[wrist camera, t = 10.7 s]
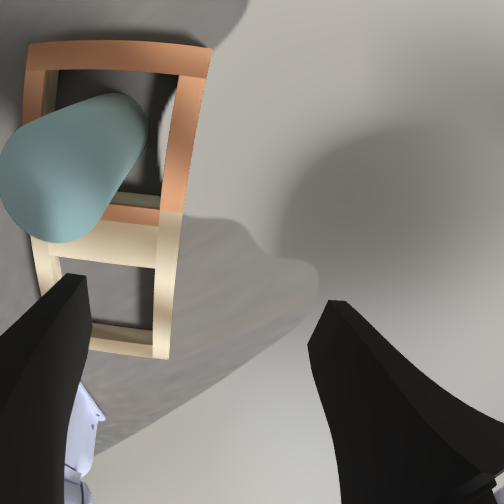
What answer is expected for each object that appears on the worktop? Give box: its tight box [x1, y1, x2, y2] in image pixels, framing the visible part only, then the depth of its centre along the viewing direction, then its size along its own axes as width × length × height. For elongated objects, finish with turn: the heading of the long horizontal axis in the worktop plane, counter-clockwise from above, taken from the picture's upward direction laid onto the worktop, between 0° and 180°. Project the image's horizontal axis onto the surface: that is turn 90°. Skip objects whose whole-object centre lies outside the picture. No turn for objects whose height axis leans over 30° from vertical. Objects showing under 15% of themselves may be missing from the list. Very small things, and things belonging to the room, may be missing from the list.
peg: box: [0, 93, 149, 243], centre depth 12 cm, size 4×4×8 cm
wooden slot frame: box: [22, 40, 213, 360], centre depth 17 cm, size 21×10×2 cm, turn 167°
